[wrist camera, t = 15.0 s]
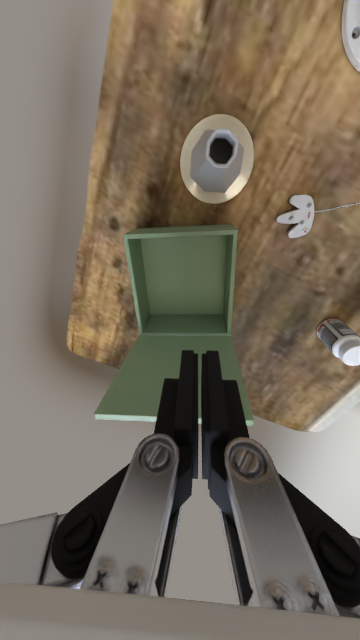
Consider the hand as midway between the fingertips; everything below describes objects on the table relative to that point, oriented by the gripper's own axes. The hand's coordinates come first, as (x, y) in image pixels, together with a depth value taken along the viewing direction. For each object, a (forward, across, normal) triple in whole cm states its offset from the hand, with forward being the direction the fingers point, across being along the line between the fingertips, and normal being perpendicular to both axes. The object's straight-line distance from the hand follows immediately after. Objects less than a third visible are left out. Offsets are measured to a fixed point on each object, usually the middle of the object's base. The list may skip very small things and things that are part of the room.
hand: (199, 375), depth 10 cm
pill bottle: (+30, -25, +15) cm, 41 cm away
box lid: (+14, +2, +11) cm, 18 cm away
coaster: (+29, -2, -12) cm, 32 cm away
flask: (+29, -2, -12) cm, 31 cm away
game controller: (+30, -18, -5) cm, 35 cm away
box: (+30, +2, +4) cm, 30 cm away
